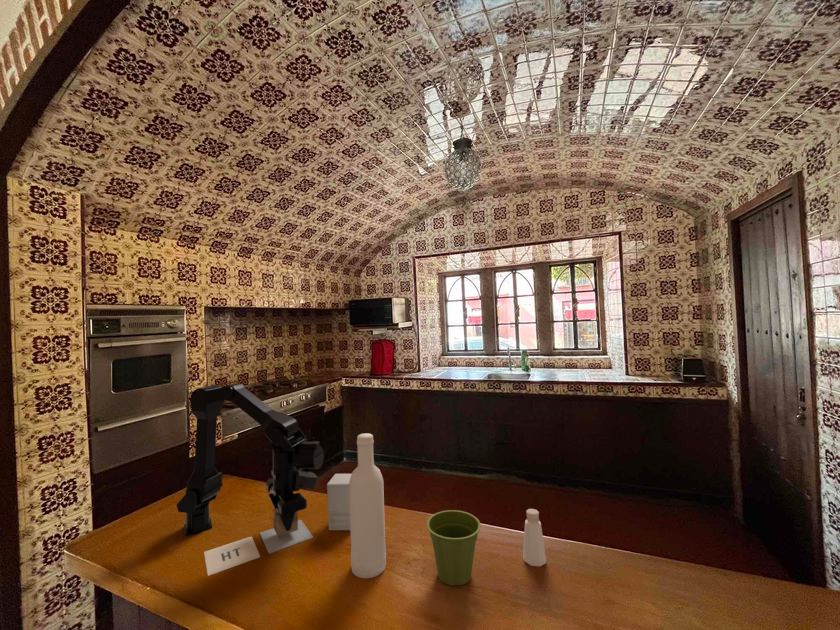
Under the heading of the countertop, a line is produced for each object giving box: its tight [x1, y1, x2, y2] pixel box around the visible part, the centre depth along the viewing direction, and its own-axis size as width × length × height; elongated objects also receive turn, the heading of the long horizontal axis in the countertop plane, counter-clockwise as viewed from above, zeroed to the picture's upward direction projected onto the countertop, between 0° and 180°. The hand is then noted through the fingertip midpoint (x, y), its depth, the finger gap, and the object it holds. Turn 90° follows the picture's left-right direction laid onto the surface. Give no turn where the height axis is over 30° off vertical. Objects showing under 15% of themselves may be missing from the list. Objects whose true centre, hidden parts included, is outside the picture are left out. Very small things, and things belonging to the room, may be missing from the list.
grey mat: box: [259, 519, 314, 555], centre depth 97 cm, size 11×11×1 cm
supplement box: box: [326, 473, 352, 531], centre depth 102 cm, size 7×7×13 cm
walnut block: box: [272, 508, 299, 537], centre depth 97 cm, size 5×5×5 cm
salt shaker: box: [522, 508, 547, 567], centre depth 84 cm, size 5×5×11 cm
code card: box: [203, 536, 261, 577], centre depth 90 cm, size 11×11×1 cm
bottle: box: [349, 432, 387, 579], centre depth 84 cm, size 8×8×30 cm
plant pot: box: [426, 509, 482, 586], centre depth 80 cm, size 12×12×11 cm
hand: (285, 525), depth 97 cm, fingers closed on walnut block, 5 cm apart
